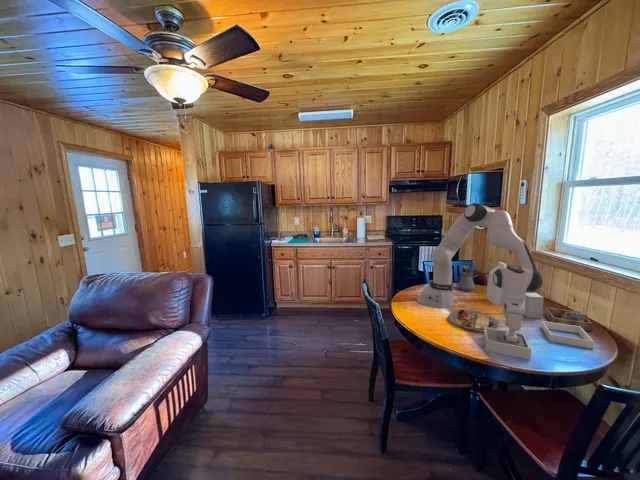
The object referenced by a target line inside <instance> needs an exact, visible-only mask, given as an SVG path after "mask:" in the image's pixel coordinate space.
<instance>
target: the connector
mask: <svg viewBox="0 0 640 480" xmlns="http://www.w3.org/2000/svg"><path fill="white" fill-rule="evenodd" d="M505 341H510V342H516V343H517V341H518V337H517V335H516V334H515V333H514V336H513V337H512V336H509V332H505Z"/></svg>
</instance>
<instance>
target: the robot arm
mask: <svg viewBox="0 0 640 480" xmlns="http://www.w3.org/2000/svg"><path fill="white" fill-rule="evenodd" d="M478 226H480V227H481V228H483V229H484V228H485V229H487V236H488V239H489V242H490V243H491V244H492V245H494V246H495V247H497V248H500V249H503V250H506V251H509V252H510V253H511V252H512V253H513V254H514V255H516V257H517V258H518V260H519V263H520V265H521V266H520V265H517V264H509V265H506V268H500V269H497V270H496V271H495V272H494V273H493V283H494V284H495V285H496V286H497V287H499V288H502V289H503V291H502V293H501V302H500V303H501V305H500V306H503V310H502V311H503V315H504V317H505V326H506V327H508V329H509V330H508V331H509V336H512V337H513V336H514V333H515V332H520V330H521V327H522V322H523V317H524V315H523V314H525V301H526V295H525V293H527V292H529V293H535V292H537V291H538V290H539V289H540V288H542V286H543V284H544V283H543V277H542V275H541V273H540V272H539V270H538V268H537V266H536V265H535V262H534V260H533V257H532V254H531V252H530V250H529V248H528V245H527V243H526V242H525V240H524V239H522V238H520V236H518V235H517V234H516V232H515V227H514V224H513V221H512V219H511V216H510V214H509V212H508V211H506V210H502V209H501V210H499V209H497V210H496V209H494V208H492V207H489V206H486V205H483V204H480V203H478V202H477V203H476V202H472V203H469V204H468V205H467V206H466V208H465V209H464V210H463V212H462V213H461V214H459V216H458V217H457V219H455V220H454V223H453V224H452V225H451V226H450V227H449V229H448V230H447V232H446V233H445V236H444V237H443V238H442V240H441V242H440V243H439V245H438V246H437V247H435V248H434V249H433V250H432V253H431V259H432V268H433V275H432V277H433V278H432V279H430V280H429V286H427V287H426V288H423V289H422V291H421V293H420V295H418V296H417V297H416V302H417V304H421V305H425V306H430V307H435V308H439V309H444V308H449V307H452V306H454V301H453V289H454V287H453V286H454V285H453V268H452V267H453V266H452V259H453V258H454V256H455V255H456V253H457V252H458V251H459V249H460V248H461V247H462V245H463V244H464V243H465V241H466V240H467V239H468V238H469V236H470V235H471V234H472V232H473V231H474V229H475V228H476V227H478Z"/></svg>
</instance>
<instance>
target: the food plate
mask: <svg viewBox="0 0 640 480" xmlns="http://www.w3.org/2000/svg"><path fill="white" fill-rule="evenodd" d="M457 318H458V319H459V320H461V321H462V324H460V323H459V322H458V321H457ZM447 319H448V320H449V321H450V323H452V324H455V325H456V326H459V327H462V328H465V329H469V330H474V331H478V332H484V327H487V328H493V329H498V326H499V323H500V322H499V320H497V319H496V318H495V317H493V316H492V315H490V313H489V312H485V313H484V312H481V311H478V310H472V309H465V308H464V309H455V310H453V311H451V312H450V314H449V315H448V316H447ZM472 324H473V327H471V326H472Z"/></svg>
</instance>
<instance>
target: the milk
mask: <svg viewBox="0 0 640 480" xmlns="http://www.w3.org/2000/svg"><path fill="white" fill-rule="evenodd" d="M506 266H507V263H504V262H502V261H499V262H498V264H497V266H495V267H494V268H493V269H491V270H490V271H489V274H488V279H487V288H486V296H485V298H486V299H487V300H488V301H490V302H491V303H492V304H493V305H494V306H502V305H501V303H500V302H501V293H502V291H503V289H502V288H499V287H497V286H496V285H495V284H494V283H493V273H494V272H495V271H496V270H497V269H500V268H506Z"/></svg>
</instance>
